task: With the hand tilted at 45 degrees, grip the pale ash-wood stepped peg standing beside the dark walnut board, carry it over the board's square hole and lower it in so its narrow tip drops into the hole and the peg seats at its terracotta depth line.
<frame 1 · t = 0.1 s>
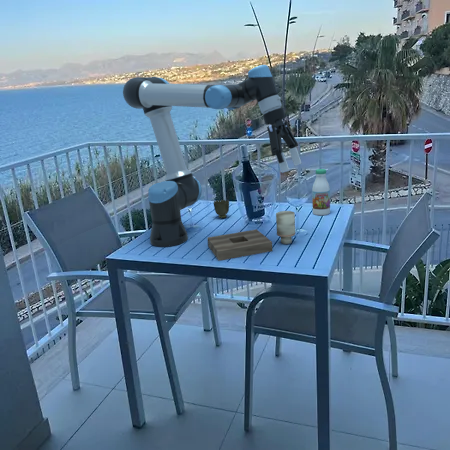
hand: (292, 168, 145), 28 cm above the table, tool tilted 20°, fingers open, 13 cm apart
cup: (222, 218, 191), on the table
milk bottle: (321, 213, 185), on the table
walnut board: (239, 248, 151), on the table
ash peg: (286, 242, 153), on the table
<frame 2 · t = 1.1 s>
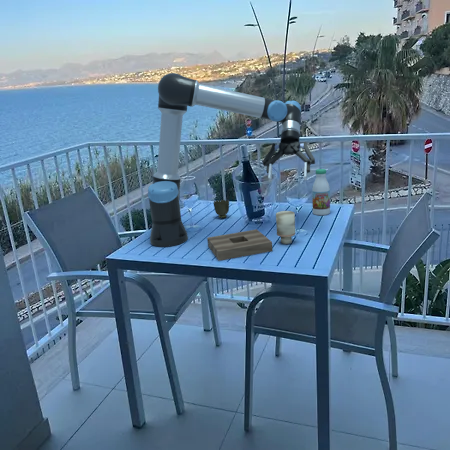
hand: (287, 179, 156), 22 cm above the table, tool tilted 45°, fingers open, 13 cm apart
nothing on the table moved.
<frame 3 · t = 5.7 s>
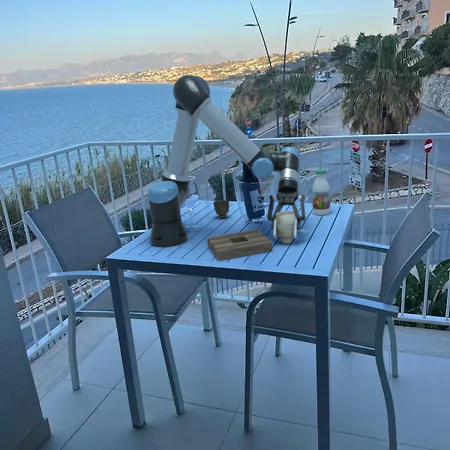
hand: (285, 236, 149), 3 cm above the table, tool tilted 45°, fingers closed on ash peg, 7 cm apart
ash peg: (286, 242, 153), on the table, touching gripper
everything else where it was.
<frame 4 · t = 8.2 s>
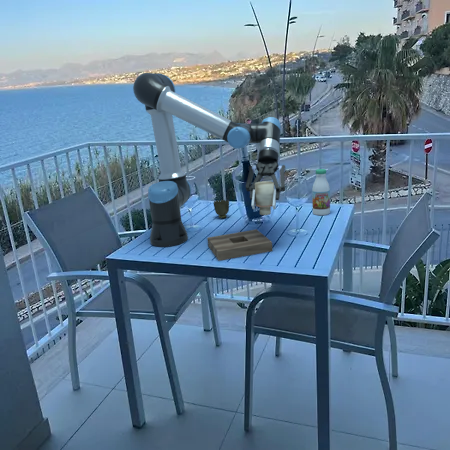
hand: (263, 207, 144), 16 cm above the table, tool tilted 45°, fingers closed on ash peg, 7 cm apart
ash peg: (265, 213, 148), point 12 cm above the table, touching gripper
everything else where it was.
when the fingers open (5 cm above the table, at t = 10.9 s): ash peg drops 2 cm, resting on walnut board.
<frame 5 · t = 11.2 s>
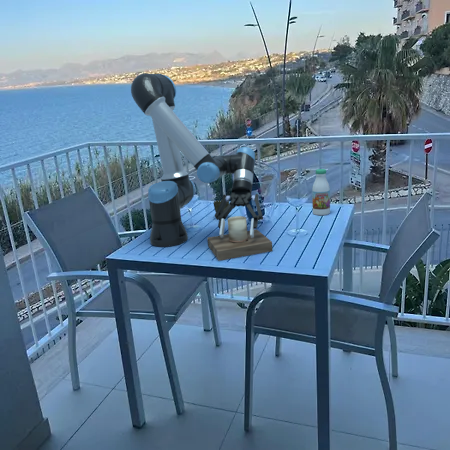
hand: (236, 236, 146), 6 cm above the table, tool tilted 45°, fingers open, 10 cm apart
ash peg: (239, 247, 151), resting on walnut board
everything else where it was.
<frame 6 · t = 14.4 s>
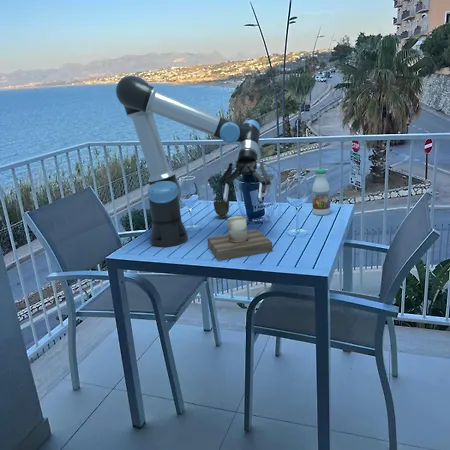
hand: (242, 199, 155), 16 cm above the table, tool tilted 45°, fingers open, 13 cm apart
nothing on the table moved.
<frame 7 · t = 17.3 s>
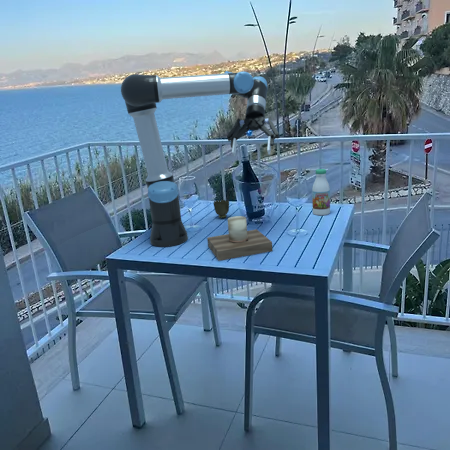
hand: (250, 153, 155), 33 cm above the table, tool tilted 45°, fingers open, 13 cm apart
nothing on the table moved.
at the end: ash peg 0.1 cm off-centre on the walnut board, point 0.2 cm above the walnut board's base; ash peg tilted 0°; the gripper is holding nothing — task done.
